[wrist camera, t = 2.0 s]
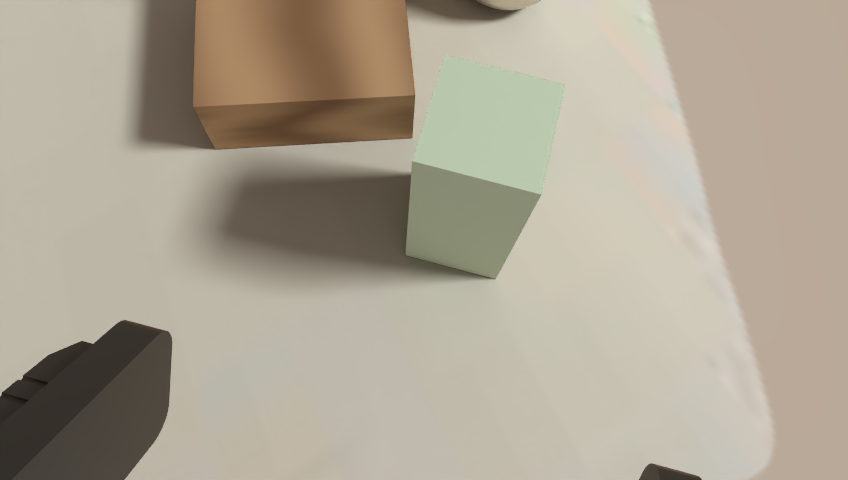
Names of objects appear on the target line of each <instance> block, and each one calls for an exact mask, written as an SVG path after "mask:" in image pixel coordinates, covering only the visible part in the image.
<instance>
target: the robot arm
mask: <svg viewBox="0 0 848 480" xmlns="http://www.w3.org/2000/svg"><path fill="white" fill-rule="evenodd" d="M171 355H172V337H171V334H170V333H169V332H168V331H164V330H161V329H157V328H153V327H149V326H146V325H142V324H138V323H135V322H131V321H127V320H123V321H120V322H119V323H117V324H116V325H115V326H114V327H112V328H111V329H110V330H109V331H108V332H107V333H105V334H104V335H103V336H102V337H101V338H100V339H99V340H97V341H96V342H95V343H94V344H91V343H87V342H84V341H81V342H78V343H76V344H74V345H71V346H69V347H67V348H64V349H62V350H59V351H57V352H55V353H52V354H50V355H48V356H47V357H46V358H44V359H43V360H42V361H41V362H39V363H38V364H37V365H36V366H34V367H33V368H32V369H31V370H29V371H28V372H27V373H26V374H24V375H23V378H22V380H17V381H16V382H15V383H13V384H12V385H11V386H10V387H8V388H7V389H6V390H5V391H3V392H2V395H1V397H0V480H124V479H125V478H126V477H127V476H128V474H129V473H130V472H131V471H132V469H133V468H134V467H135V466H136V464H137V463H138V462H139V460H140V459H141V458H142V457H143V455H144V454H145V453H146V452H147V450H148V449H149V448H150V447H151V445H152V444H153V443H154V441H155V440H156V438H157V437H158V435H159V433H160V431H161V429H162V427H163V424H164V422H165V419H166V416H167V412H168V407H169V394H170V375H171ZM639 480H702V479H701V478H700V477H699V476H696V475H693V474H689V473H685V472H682V471H678V470H674V469H670V468H667V467H663V466H659V465H656V464H649V465H647V466H646V468H645V469H644V471H643V473H642V475H641V477H640V479H639Z"/></svg>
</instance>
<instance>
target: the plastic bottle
mask: <svg viewBox="0 0 848 480" xmlns="http://www.w3.org/2000/svg"><path fill="white" fill-rule="evenodd" d="M476 1H478V2H480V3H482V4H484V5H486V6H488V7H491V8H494V9H500V10H517V9H522V8H525V7H528V6H530V5H533V4H535V3H537V2H539V1H540V0H476Z"/></svg>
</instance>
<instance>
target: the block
mask: <svg viewBox="0 0 848 480" xmlns="http://www.w3.org/2000/svg"><path fill="white" fill-rule="evenodd" d="M564 87H565V84H561V83H557V82H553V81H549V80H545V79H541V78H537V77H533V76H529V75H525V74H521V73H517V72H513V71H509V70H505V69H501V68H497V67H493V66H489V65H485V64H481V63H477V62H473V61H469V60H465V59H461V58H457V57H453V56H450V55H446V54H444V57H443V60H442V64H441V67H440V70H439V74H438V77H437V80H436V84H435V87H434V90H433V94H432V97H431V100H430V104H429V107H428V110H427V114H426V117H425V120H424V124H423V127H422V130H421V134H420V137H419V140H418V144H417V147H416V150H415V154H414V157H413V160H412V172H411V185H410V199H409V213H408V226H407V240H406V253H405V255H406V256H410V257H414V258H418V259H422V260H425V261H429V262H433V263H437V264H440V265H444V266H448V267H452V268H455V269H459V270H463V271H467V272H471V273H474V274H478V275H482V276H486V277H489V278H493V279H496V277H497V276H498V274H499V272H500V270H501V268H502V266H503V264H504V263H505V261H506V259H507V257H508V255H509V253H510V252H511V250H512V248H513V246H514V244H515V242H516V240H517V239H518V237H519V235H520V233H521V231H522V229H523V227H524V226H525V224H526V222H527V220H528V218H529V216H530V214H531V213H532V211H533V209H534V207H535V205H536V203H537V201H538V200H539V198H540V196H541V193H542V189H543V184H544V180H545V175H546V170H547V166H548V161H549V157H550V152H551V147H552V143H553V138H554V134H555V129H556V124H557V120H558V115H559V110H560V106H561V101H562V97H563V92H564Z"/></svg>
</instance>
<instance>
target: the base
mask: <svg viewBox="0 0 848 480" xmlns="http://www.w3.org/2000/svg"><path fill="white" fill-rule="evenodd" d="M414 105H415V89H414V79H413V69H412V60H411V50H410V40H409V30H408V20H407V11H406V1H405V0H196V16H195V48H194V81H193V109H194V110H195V112H196V114H197V116H198V118H199V120H200V122H201V124H202V125H203V127H204V129H205V131H206V133H207V135H208V137H209V139H210V141H211V142H212V144H213V146H214V148H215V149H228V148H246V147H263V146H280V145H297V144H315V143H332V142H349V141H367V140H384V139H401V138H412V134H413V119H414Z"/></svg>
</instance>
